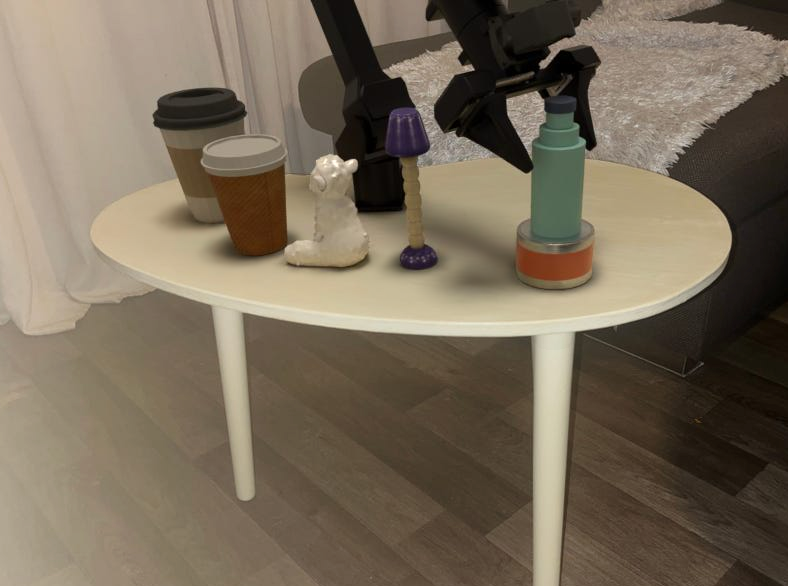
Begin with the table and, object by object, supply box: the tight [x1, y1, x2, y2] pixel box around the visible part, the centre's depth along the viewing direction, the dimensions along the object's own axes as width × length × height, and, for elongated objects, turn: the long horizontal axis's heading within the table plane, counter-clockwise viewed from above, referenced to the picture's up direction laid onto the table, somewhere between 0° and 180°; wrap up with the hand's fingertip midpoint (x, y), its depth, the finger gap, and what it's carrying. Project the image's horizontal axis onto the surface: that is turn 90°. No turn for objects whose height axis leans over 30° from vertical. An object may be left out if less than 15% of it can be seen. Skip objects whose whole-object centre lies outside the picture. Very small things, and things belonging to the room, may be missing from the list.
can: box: [515, 217, 596, 290], centre depth 80 cm, size 8×8×5 cm
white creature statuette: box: [284, 153, 371, 268], centre depth 83 cm, size 10×9×12 cm
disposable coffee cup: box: [201, 133, 288, 256], centre depth 87 cm, size 10×10×12 cm
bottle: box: [530, 96, 586, 238], centre depth 75 cm, size 5×5×13 cm
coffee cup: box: [152, 87, 249, 224], centre depth 96 cm, size 11×11×15 cm
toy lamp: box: [385, 108, 438, 270], centre depth 80 cm, size 5×5×17 cm
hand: (562, 159), depth 74 cm, fingers open, 9 cm apart
